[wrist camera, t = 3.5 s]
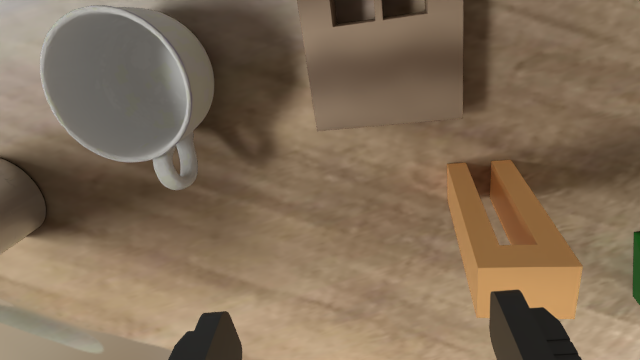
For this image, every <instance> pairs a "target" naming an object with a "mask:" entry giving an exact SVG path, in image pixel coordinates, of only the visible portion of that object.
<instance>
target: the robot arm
mask: <svg viewBox="0 0 640 360" xmlns="http://www.w3.org/2000/svg"><path fill="white" fill-rule="evenodd" d="M45 216H46V206H45V201H44V198H43V196H42V194H41V192H40V190H39V188H38V187H37V185H36V184H35V183H34V181H33V180H32V179H31V178H30V177H29V176H28V175H27V174H26V173H25V172H24V171H23V170H21V169H20V168H18V167H17V166H15V165H14V164H12V163H10V162H8V161H6V160H3V159H0V254H2V253H3V252H5V251H6V250H8V249H9V248H10V247H12V246H13V245H15V244H16V243H18V242H19V241H21V240H22V239H24V238H25V237H26V236H27V235H28V234H30V233H31V232H33V231H34V230H35V229H37V228H38V227H40V226H41V225H42V223H43V222H44V219H45ZM489 328H490V337H491V342H492V346H493V349H494V352H495V355H496V358H497V360H582V359H581V357H579V355H578V352H577V350H576V349H575V347H574V345H573V343H572V342H570V338H569V336H568V335H567V333H566V331H565V329H564V328H563V326H562V324H561V323H560V321H559V320H558V319H556V318H555V317H554V316H553V315H552V314H551V313H550V312H548V311H547V310H546V309H545V308H544V307H539V308H529V306H528V304H527V302H526V300H525V298H524V296H523V294H522V292H521V291H520V290H505V291H492V292H491V294H490V326H489ZM168 360H242V346H241V342H240V339H239V337H238V334H237V332H236V329H235V327H234V324H233V322H232V319H231V317H230V315H229V313H228V312H227V311H224V312H211V313H203V314H202V315H201V317H200V319H199V321H198V323H197V326H196V328H195V330H194V331H188V332H186V334H185V335H184V336H183V337H182V338H181V339H180V340H179V342H178V343H177V344H176V345H175V346H174V349H173V351H172V353H171V355H170V357H169V359H168Z"/></svg>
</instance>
